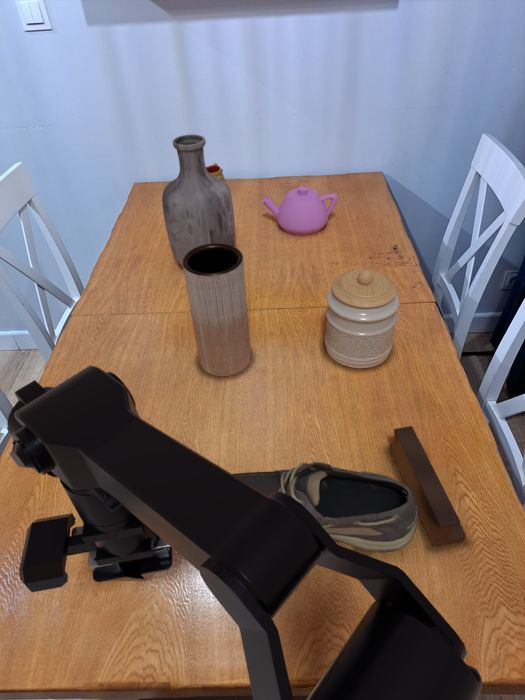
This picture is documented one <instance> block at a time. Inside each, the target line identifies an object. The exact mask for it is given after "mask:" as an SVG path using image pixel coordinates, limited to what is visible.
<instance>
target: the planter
mask: <svg viewBox="0 0 525 700" xmlns="http://www.w3.org/2000/svg"><path fill="white" fill-rule="evenodd" d="M182 264H183V266H182V269H183V275H184V280H185V287H186V292H187V299H188V304H189V308H190V316H191V321H192V327H193V332H194V338H195V344H196V350H197V354H198V361H199V364H200V367H201V368H202V370H203V371H205V372H206V373H208V374H210V375H212V376H216V377H230V376H233V375H236V374H239V373H241V372H243V371H244V370H245V369H246V368H247V367H248V366H249V365H250V362H251V358H252V357H251V356H252V355H251V341H250V340H251V339H250V328H249V316H248V302H247V290H246V279H245V277H246V276H245V263H244V255H243V253H242V252H241V250H240V249H239V248H237V247H236V246H235V247H233V246H231V245H227V244H220V243H214V244H206V245H202V246H199V247H196V248H194V249H192V250H191V251H189V252H188V253H187V254H186V255H185V256H184V258H183V262H182Z"/></svg>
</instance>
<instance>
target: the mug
mask: <svg viewBox="0 0 525 700" xmlns="http://www.w3.org/2000/svg"><path fill="white" fill-rule="evenodd" d="M206 169H207V171H208V172H209V173H210V174H211V175H214V176H216V177H219V178H220V179H222V180H223V181H225V182H226V178H225V176H224V173H223V172H224V169H223V168H221V166H220V165H219V164H218V163H216V162H213V164H210V165H208V166H206Z"/></svg>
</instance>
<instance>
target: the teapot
mask: <svg viewBox="0 0 525 700" xmlns="http://www.w3.org/2000/svg"><path fill="white" fill-rule="evenodd" d="M338 198H339V197H338V194H337V193H327V194H324V195H322V196H321V195H320V193H319V192H318V191H317V190H316V189H314V188H309V187H308V186H306V185H301V186H298V187H297V188H293V189H291V190H289V191H288V192H287V193H286V195H285V196H284V198H283V199H282V201H281V202H280V205H279V207H278V205H277V204H276V203H275V202H274V201H273V200H272V198H271V197H270V196H266V197H264V198H263V200H262V204H263V205H264V206H265V207H266V208H267V209H268V211H270V213H272V214H273V215H274V217H275V218H276V221H277V223H278V226H280V228H281V229H283V231H284V232H286V233H289V234H291V235H295V236H296V235H297V236H307V235H314V234H316V233H318V232H320V231H322V229H323V228H324V227H325V226H326V225H327V223H328V221H329V216H330V214H331V213H332V211H333V209H334V208H335V206H336V205H337V204H338V203H337V202H338ZM326 200H330V203H329V206H328V208H327V205H326V203H325V201H326Z"/></svg>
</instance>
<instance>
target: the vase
mask: <svg viewBox="0 0 525 700" xmlns="http://www.w3.org/2000/svg"><path fill="white" fill-rule="evenodd" d="M206 144H207V143H206V138H205V137H204V136H203V135H200V134H183V135H179V136H176V138H174V139H173V140H172V146H173V148H174V149H175V150H176V152H177V157H178V163H179V173H178V175H177V177H176V178H174V179H173V180H171V181H170V182H169V183H168V184H167V185H166V186H165V187H164V188H163V191H162V198H161V199H162V202H161V204H162V211H163V212H162V213H163V218H164V219H163V220H164V224H165V229H166V233H167V234H166V235H167V239H168V242H169V245H170V249H171V252H172V254H173V257H174V258H175V261H176V262H177V263H178V264H179V265H181V266H182V267H183V264H182V262H183V258H184V256H185V255H186V254H187V253H188V252H189V251H191V250H192V249H194V248H196V247H199V246H202V245H206V244H214V243H220V244H227V245H231V246H233V247H235V248H236V246H235V245H236V226H235V225H236V223H235V213H234V204H233V203H234V202H233V197H232V191H231V190H230V187H229V185H228V183H226V180H225V181H223V180H222V179H220V178H219V177H216V176H214V175H211V174H210V173H209V172H208V171H207V169H206V167H207V166H206V162H205V153H204V147H205V146H206Z"/></svg>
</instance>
